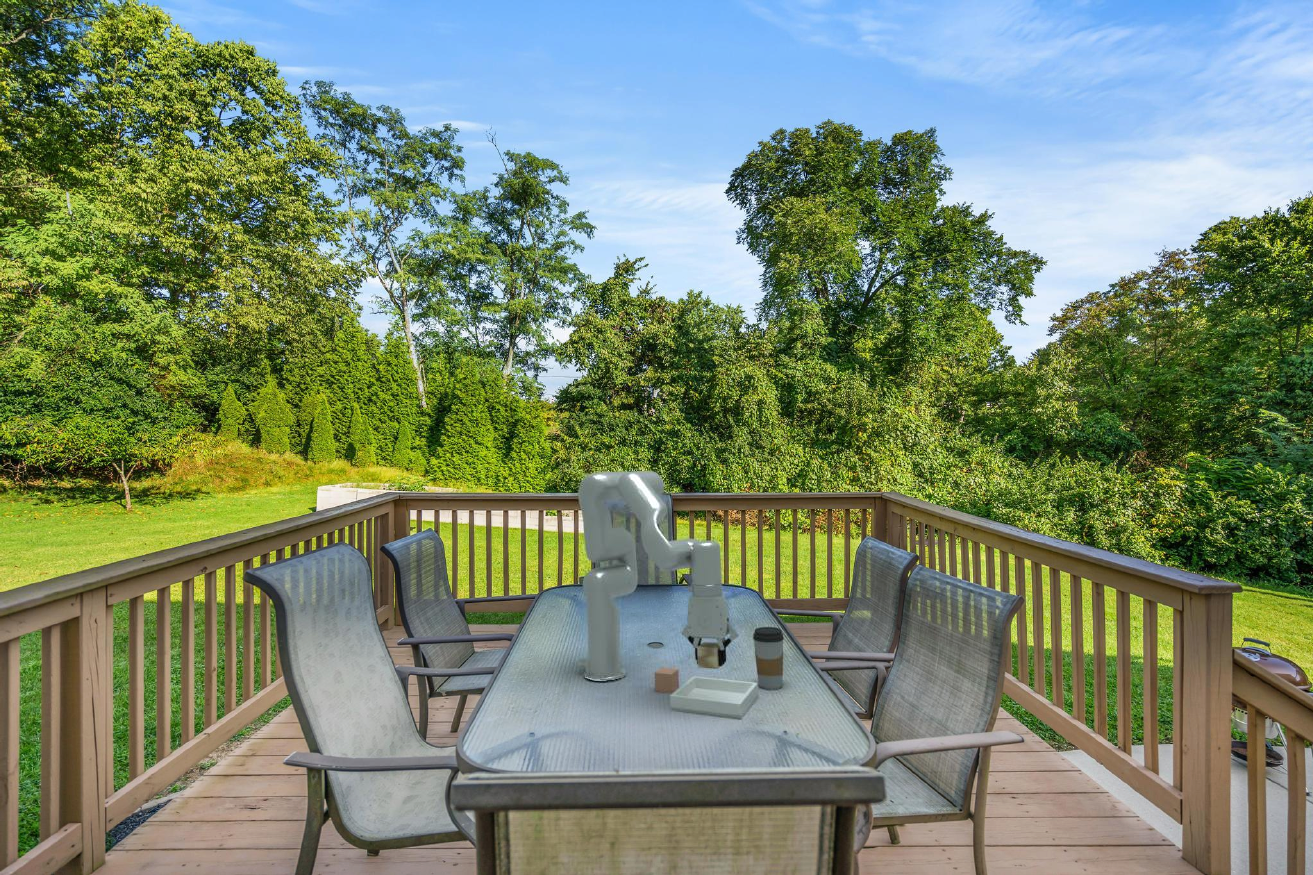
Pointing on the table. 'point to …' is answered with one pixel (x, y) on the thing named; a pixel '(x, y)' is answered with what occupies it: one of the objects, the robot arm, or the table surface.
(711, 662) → the maple block
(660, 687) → the terracotta block
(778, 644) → the coffee cup
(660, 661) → the table surface
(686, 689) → the tray
